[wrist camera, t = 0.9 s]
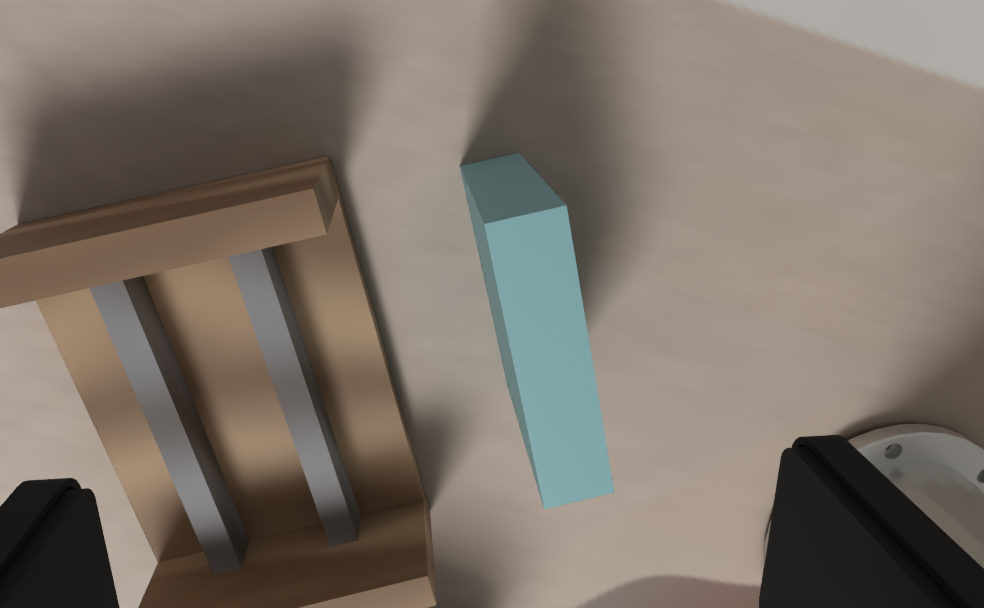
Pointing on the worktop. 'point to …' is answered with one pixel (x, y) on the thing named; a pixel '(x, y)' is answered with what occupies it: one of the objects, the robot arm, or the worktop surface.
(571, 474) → the door panel
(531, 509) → the worktop surface
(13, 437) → the worktop surface
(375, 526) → the cabinet track
